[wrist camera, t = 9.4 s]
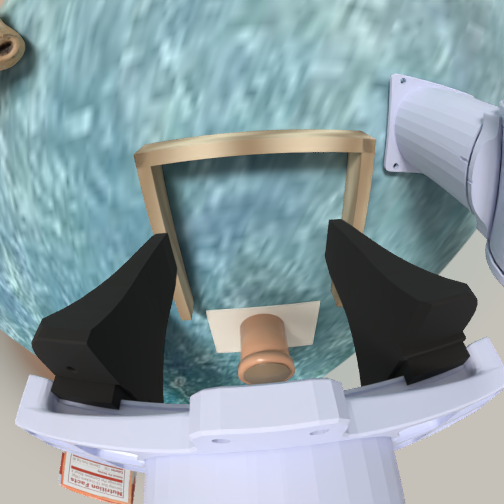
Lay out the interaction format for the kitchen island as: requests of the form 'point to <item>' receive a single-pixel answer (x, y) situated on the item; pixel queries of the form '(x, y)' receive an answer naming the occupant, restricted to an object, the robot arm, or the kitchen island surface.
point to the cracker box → (97, 479)
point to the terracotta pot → (264, 351)
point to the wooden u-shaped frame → (248, 144)
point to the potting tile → (293, 315)
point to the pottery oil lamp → (10, 46)
